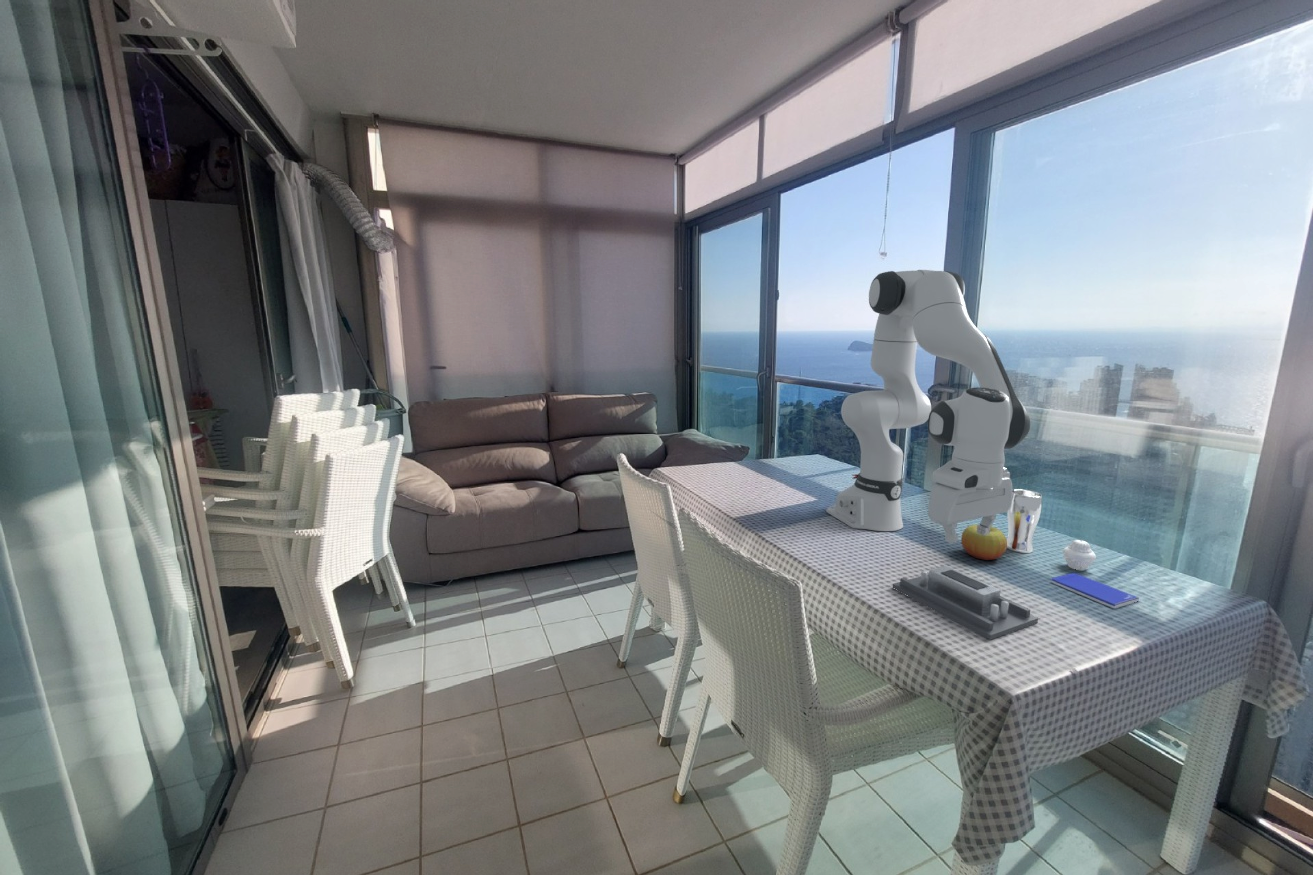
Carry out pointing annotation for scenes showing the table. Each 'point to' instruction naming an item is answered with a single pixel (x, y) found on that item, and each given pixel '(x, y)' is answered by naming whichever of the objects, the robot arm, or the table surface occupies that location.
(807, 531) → the table surface
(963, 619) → the tray
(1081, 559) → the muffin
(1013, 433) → the robot arm
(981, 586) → the block
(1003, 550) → the apple
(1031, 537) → the beer glass
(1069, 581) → the hard drive
